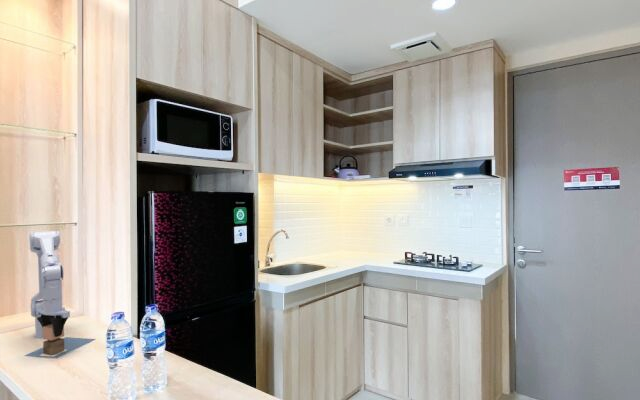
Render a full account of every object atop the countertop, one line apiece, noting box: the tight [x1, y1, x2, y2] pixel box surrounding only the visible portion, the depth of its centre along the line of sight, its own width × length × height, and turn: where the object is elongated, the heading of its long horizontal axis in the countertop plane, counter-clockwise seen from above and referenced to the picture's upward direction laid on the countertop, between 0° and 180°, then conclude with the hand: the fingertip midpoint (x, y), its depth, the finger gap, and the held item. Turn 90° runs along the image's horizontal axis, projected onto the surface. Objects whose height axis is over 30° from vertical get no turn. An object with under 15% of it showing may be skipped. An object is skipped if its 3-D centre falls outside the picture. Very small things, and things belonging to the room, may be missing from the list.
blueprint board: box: [24, 337, 96, 359], centre depth 142 cm, size 18×14×1 cm
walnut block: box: [42, 337, 65, 356], centre depth 137 cm, size 4×4×4 cm
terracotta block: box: [42, 324, 65, 341], centre depth 137 cm, size 4×4×4 cm
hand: (53, 335), depth 137 cm, fingers closed on terracotta block, 4 cm apart
